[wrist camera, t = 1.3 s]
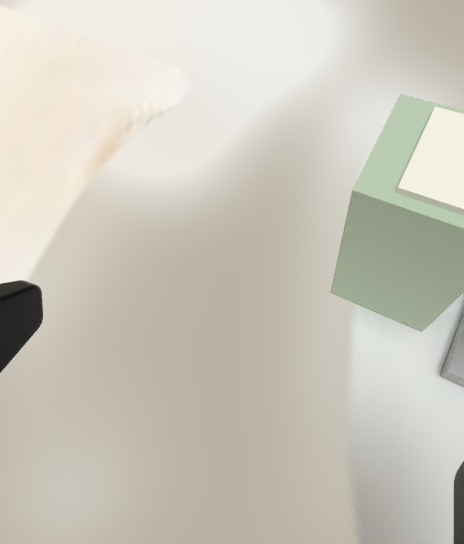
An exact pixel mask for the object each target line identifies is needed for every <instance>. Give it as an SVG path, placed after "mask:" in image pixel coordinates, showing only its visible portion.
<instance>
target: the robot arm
mask: <svg viewBox="0 0 464 544" xmlns="http://www.w3.org/2000/svg"><path fill="white" fill-rule="evenodd" d="M42 320H43V307H42V292H41V289H40V287H39V286H37V285H35V284H32V283H29V282H27V281H22V280H20V281H14V282H8V283H2V284H0V372H1V371H2V370H3V369H4V368H5V367H6V366H7V364H8V363H9V362H10V361H11V360H12V359H13V357H14V356H15V355H16V354H17V353H18V352H19V350H20V349H21V348H22V347H23V346H24V345H25V343H26V342H27V341H28V340H29V339H30V338H31V336H32V335H33V334H34V333H35V332H36V331H37V329H38V328H39V327H40V325H41V323H42ZM454 544H464V461H463V463H462V464H461V466H460V467H459V469H458V471H457V473H456V475H455V480H454Z"/></svg>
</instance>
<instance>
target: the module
mask: <svg viewBox="0 0 464 544" xmlns="http://www.w3.org/2000/svg"><path fill="white" fill-rule="evenodd" d="M463 292H464V111H463V110H459V109H455V108H451V107H448V106H444V105H440V104H436V103H432V102H428V101H424V100H421V99H417V98H413V97H409V96H405V95H402V94H401V95H400V96H399V98H398V100H397V102H396V104H395V106H394V108H393V110H392V112H391V114H390V116H389V118H388V120H387V122H386V124H385V126H384V128H383V130H382V132H381V134H380V136H379V138H378V140H377V142H376V144H375V146H374V148H373V150H372V152H371V154H370V156H369V158H368V160H367V162H366V164H365V166H364V168H363V170H362V172H361V174H360V176H359V178H358V180H357V182H356V184H355V186H354V188H353V190H352V194H351V199H350V204H349V209H348V214H347V218H346V223H345V227H344V232H343V237H342V242H341V246H340V251H339V256H338V261H337V265H336V270H335V274H334V280H333V284H332V289H331V293H333V294H335V295H337V296H340V297H342V298H344V299H347V300H349V301H351V302H354V303H356V304H358V305H361V306H363V307H365V308H368V309H370V310H372V311H375V312H377V313H379V314H382V315H384V316H386V317H389V318H391V319H393V320H396V321H398V322H400V323H403V324H405V325H407V326H410V327H412V328H414V329H417V330H419V331H421V332H422V331H423V330H424V329H425V328H426V327H427V326H428V325H429V324H430V323H431V322H432V321H433V320H435V319H436V318H437V317H438V316H439V315H440V314H441V313H442V312H443V311H444V310H445V309H446V308H447V307H448V306H449V305H450V304H451V303H453V302H454V301H455V300H456V299H457V298H458V297H459V296H460V295H461V294H462V293H463Z"/></svg>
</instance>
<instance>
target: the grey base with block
mask: <svg viewBox="0 0 464 544" xmlns="http://www.w3.org/2000/svg"><path fill="white" fill-rule="evenodd" d="M440 376H442V377H444V378H447V379H449V380H451V381H453V382H455V383H457V384H460V385H462V386H464V312H463V315H462V317H461V320H460V323H459V326H458V328H457V331H456V334H455V337H454V339H453V342H452V345H451V348H450V350H449V353H448V356H447V359H446V361H445V364H444V367H443V370H442V372H441V375H440Z"/></svg>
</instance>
